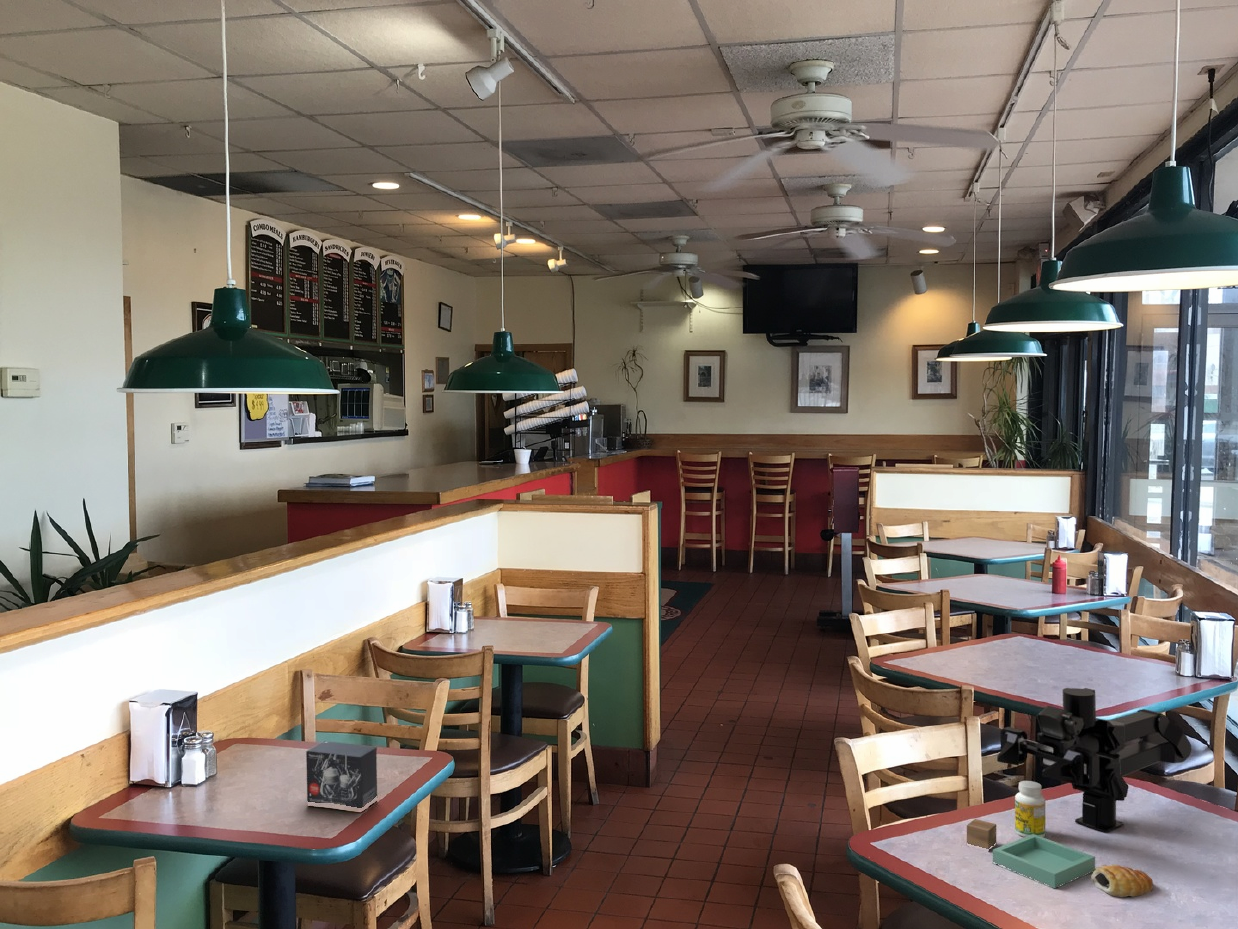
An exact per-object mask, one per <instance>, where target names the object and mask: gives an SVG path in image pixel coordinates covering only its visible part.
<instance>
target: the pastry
mask: <svg viewBox="0 0 1238 929" xmlns="http://www.w3.org/2000/svg"><path fill="white" fill-rule="evenodd" d="M1090 879H1091V881H1092V884H1093V885H1094V884H1095V885H1094V886H1095V887H1096V888H1097V889H1099V890H1101V889H1102V890H1101V891H1103V890H1104V891H1103V892H1105V893H1106V894H1108V895H1110V896H1112V895H1114V897H1116V896H1117V897H1118V898H1126V897H1128V896H1131V897H1137V896H1141V895H1146V894H1147V893H1150V892H1151V891H1152V890H1154V882H1153V878H1152V877H1151V876H1149V875H1148V874H1147V873H1146V872H1144V871H1142V870H1140V869H1134V868H1131V867H1128V866H1121V865H1118V864H1111V865H1101V867H1095V871H1093V872H1092V874H1091V876H1090ZM1117 897H1116V898H1117Z"/></svg>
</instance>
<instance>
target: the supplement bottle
mask: <svg viewBox="0 0 1238 929" xmlns="http://www.w3.org/2000/svg"><path fill="white" fill-rule="evenodd" d="M1018 791H1019V792H1017V793H1016V794H1015V795H1014V811H1015V812H1014V832H1015V834H1017V835H1018V834H1019V835H1018V836H1020V835H1021V836H1020V837H1022V836H1023V837H1022V838H1024V837H1027V836H1029V835H1032V834H1035V835H1038V836H1040V837H1043V838H1045V836H1046V799H1045V797H1044V796H1043V795H1042V792H1043V791H1042V785H1041V784H1040V783H1038V782H1036V781H1032V780H1021V781H1020V782H1018Z"/></svg>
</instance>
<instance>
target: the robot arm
mask: <svg viewBox="0 0 1238 929" xmlns="http://www.w3.org/2000/svg"><path fill="white" fill-rule="evenodd" d="M1096 700H1097V699H1096V690H1095V689H1092V688H1087V687H1085V688H1075V687H1074V688H1072V687H1071V688H1070V687H1065V688H1062V708H1059V707H1055V706H1052V705H1047V706H1045V707H1044V708H1043V709H1042V710H1041V711H1040V712H1038V714H1037V715H1036V720H1037V721H1038V724H1039V729H1040V732H1038V733H1037V739H1036V740H1037V741H1039V742H1037V741H1033V740H1029V739H1028V734H1027V732H1026V731H1025V730H1021V729H1018V728H1015V727H1011V726H1007V727H1003V728H1002V729H1001V730H1000V752H999V753H998V754H997V756H996V761H997V762H999V763H1000V764H1001V763H1003V764H1008V765H1012V766H1019V765H1023V764H1025V762H1026V760H1027V758H1028V754H1030V755H1032V756H1036V757H1037V758H1038V760H1039V766H1040V767H1043V769H1042V770H1041V772H1042V774H1041V775H1042V777H1045V778H1048V779H1052V780H1056V781H1061V782H1065V783H1069V784H1071V786H1072V789H1073V790H1077V791H1080V792H1082V805H1081V806H1082V807H1081V808H1082V811H1081V813H1082V814H1081V816H1080V817H1078V818H1075V819H1074V821H1075V823H1077V824H1080V825H1082V826H1085V827H1087V828H1091V829H1095V831H1100V832H1103V833H1109V832H1111V831H1113V830H1114V831H1115V830H1116V829H1119V828H1121V827H1123V826H1124V825H1125V824H1124V822H1123V821H1120V820H1117V801H1120V802H1123V801H1125V798H1128V793H1129V785H1128V783H1127V782H1126V781H1125V779H1124V776H1127V775H1130V774H1132V773H1135V772H1136V771H1137V772H1138V771H1140V770H1141V769H1144V768H1147V767H1149V766H1152V765H1154V764H1157V763H1166V764H1180V763H1181V764H1182V763H1183V762H1185V761H1186V760H1187V759H1188V758H1189V757H1190V755H1191V753H1192V744H1191V742H1190V741H1189V739H1188V737H1187V735H1186V734H1185V732H1184V731H1183V730H1182V729H1180V728H1179V727H1177V726H1176V725H1175V724H1173V723H1172V722H1171V721H1170V720H1169V719H1168V716H1167V715H1165V714H1163V713H1162V712H1158V711H1153V710H1149V709H1144V708H1142V709H1139V710H1137V711H1136V712H1132V713H1130V714H1129V713H1128V714H1125V715H1122V716H1119V717H1116V718H1112V719H1104V718H1098V717H1097V714H1096V713H1097V711H1096V709H1097V706H1096V705H1097V704H1096ZM1137 739H1138V740H1139V741H1137V742H1134V743H1131V744H1129V745H1126V746H1125V743H1127V742H1128V743H1129V742H1130V741H1133V740H1137Z"/></svg>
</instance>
